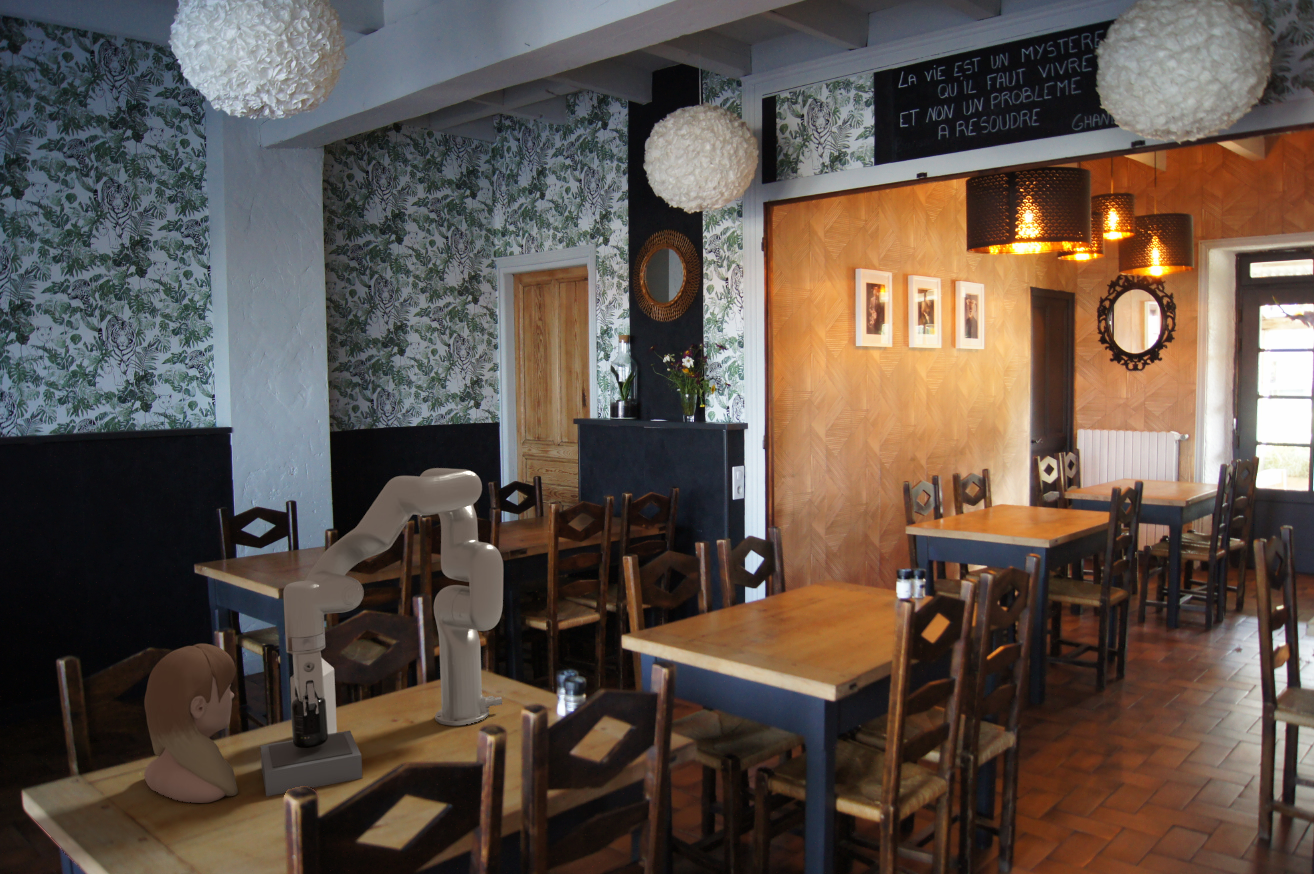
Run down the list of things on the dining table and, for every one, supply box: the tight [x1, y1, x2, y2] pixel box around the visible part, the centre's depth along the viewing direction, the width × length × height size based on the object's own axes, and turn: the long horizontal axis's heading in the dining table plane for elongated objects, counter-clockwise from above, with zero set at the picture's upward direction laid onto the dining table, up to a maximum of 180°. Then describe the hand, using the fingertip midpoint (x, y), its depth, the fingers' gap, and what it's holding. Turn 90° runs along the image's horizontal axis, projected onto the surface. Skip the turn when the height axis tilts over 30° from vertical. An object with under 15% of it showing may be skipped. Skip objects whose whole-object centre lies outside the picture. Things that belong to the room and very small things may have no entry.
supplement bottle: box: [290, 687, 328, 748], centre depth 196 cm, size 7×7×12 cm
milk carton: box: [289, 658, 338, 734], centre depth 216 cm, size 7×7×19 cm
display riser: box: [260, 730, 363, 797], centre depth 196 cm, size 18×16×5 cm
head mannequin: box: [143, 643, 239, 804], centre depth 191 cm, size 25×17×28 cm
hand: (309, 727), depth 196 cm, fingers closed on supplement bottle, 6 cm apart
